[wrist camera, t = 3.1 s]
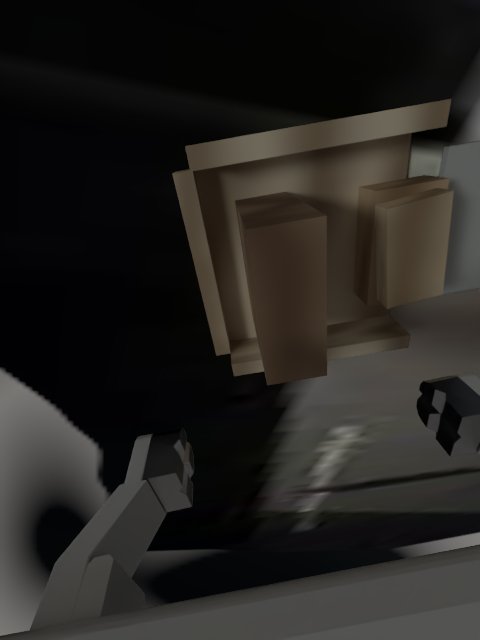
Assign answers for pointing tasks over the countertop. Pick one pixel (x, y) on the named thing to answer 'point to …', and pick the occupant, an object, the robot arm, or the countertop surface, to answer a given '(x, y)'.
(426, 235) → the offcut upper
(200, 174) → the tray
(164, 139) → the countertop surface
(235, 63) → the countertop surface
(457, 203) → the mat
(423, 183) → the offcut lower
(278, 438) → the countertop surface
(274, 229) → the dark brown wood block
